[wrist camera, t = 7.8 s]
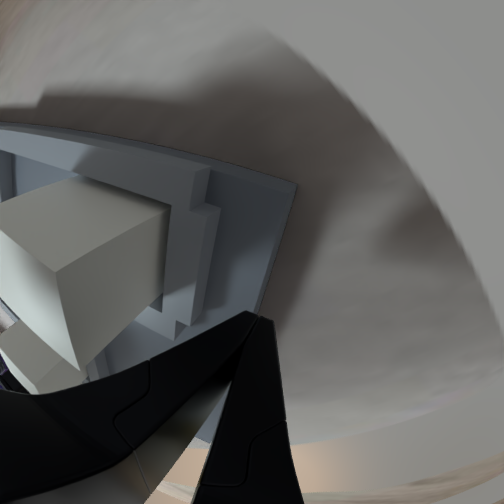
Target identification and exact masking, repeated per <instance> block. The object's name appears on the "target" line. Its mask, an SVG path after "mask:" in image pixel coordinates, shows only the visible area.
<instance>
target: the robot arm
mask: <svg viewBox="0 0 504 504" xmlns="http://www.w3.org/2000/svg"><path fill="white" fill-rule="evenodd" d="M230 384H231V385H230ZM0 385H1V386H2V387H3V389H0V504H144V503H145V501H146V500H147V499H148V498H149V496H150V494H152V492H153V491H154V490H155V489H156V487H157V486H158V485H159V484H160V482H161V481H162V480H163V478H164V477H165V476H166V474H167V473H168V472H169V470H170V469H171V468H172V467H173V465H174V464H175V462H176V461H177V460H178V458H179V457H180V456H181V454H182V453H183V451H184V450H185V449H186V448H187V446H188V445H189V443H190V442H191V441H192V439H193V438H194V437H195V435H196V434H197V432H198V431H199V429H200V428H201V427H202V425H203V424H204V422H205V421H206V420H207V418H208V417H209V415H210V414H211V412H212V411H213V409H214V408H215V407H216V405H217V404H218V402H219V401H220V399H221V398H222V396H223V395H224V393H225V392H226V390H227V389H228V387H229V385H230V388H229V391H228V394H227V397H226V400H225V403H224V406H223V409H222V412H221V415H220V418H219V421H218V424H217V427H216V430H215V433H214V437H213V440H212V443H211V446H210V449H209V452H208V455H207V457H206V461H205V463H204V466H203V469H202V472H201V475H200V478H199V481H198V484H197V487H196V490H195V493H194V495H193V498H192V501H191V504H304V501H303V497H302V494H301V490H300V487H299V483H298V479H297V476H296V472H295V468H294V463H293V459H292V455H291V449H290V442H289V436H288V428H287V422H286V421H285V420H286V413H285V404H284V396H283V388H282V380H281V372H280V364H279V356H278V348H277V341H276V333H275V325H274V321H273V320H270V319H268V318H265V317H263V316H260V317H259V316H258V315H257V314H255V313H252V312H250V311H247V310H245V311H242V312H241V313H239V314H237V315H235V316H233V317H231V318H229V319H227V320H225V321H224V322H222V323H220V324H218V325H216V326H214V327H212V328H210V329H208V330H206V331H204V332H202V333H200V334H198V335H196V336H194V337H193V338H191V339H189V340H187V341H185V342H183V343H181V344H179V345H177V346H174V347H172V348H170V349H168V350H166V351H164V352H162V353H160V354H158V355H156V356H154V357H152V358H150V359H149V360H145V361H143V362H141V363H139V364H137V365H135V366H132V367H130V368H128V369H125V370H123V371H121V372H118V373H115V374H113V375H110V376H107V377H104V378H101V379H98V380H94V381H91V382H88V383H84V384H81V385H77V386H74V387H70V388H67V389H63V390H59V391H55V392H51V393H45V394H30V392H29V391H28V390H27V389H26V388H25V387H24V386H23V385H22V384H21V383H20V382H19V381H18V380H17V379H16V378H15V376H14V375H13V374H12V373H11V372H10V370H9V369H8V370H7V371H6V372H5V373H4V374H2V375H0Z"/></svg>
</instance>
